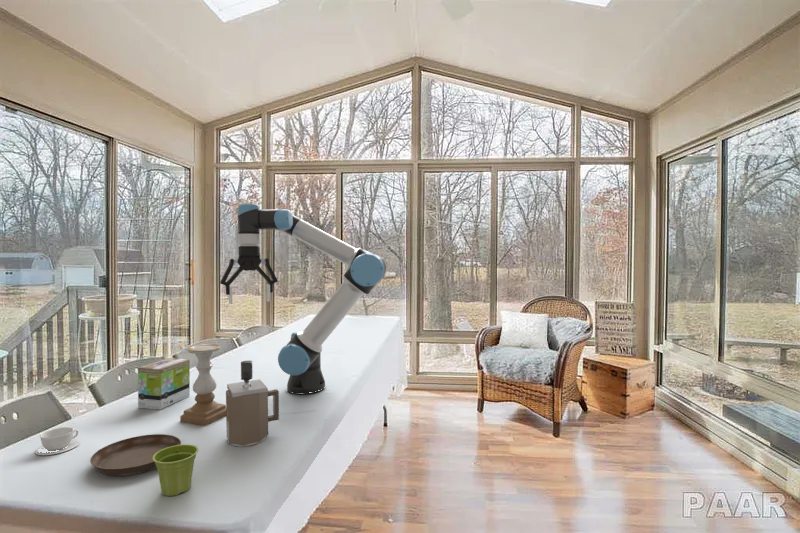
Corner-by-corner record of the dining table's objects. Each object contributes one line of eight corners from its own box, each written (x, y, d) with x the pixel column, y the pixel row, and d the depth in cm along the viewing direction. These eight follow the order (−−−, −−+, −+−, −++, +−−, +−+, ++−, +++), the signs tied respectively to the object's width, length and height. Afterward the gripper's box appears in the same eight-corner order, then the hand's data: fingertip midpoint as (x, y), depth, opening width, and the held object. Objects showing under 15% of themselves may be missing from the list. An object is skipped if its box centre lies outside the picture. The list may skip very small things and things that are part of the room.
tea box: (161, 410, 151) (161, 368, 150) (137, 408, 153) (136, 367, 152) (190, 396, 166) (190, 358, 165) (168, 394, 168) (167, 357, 167)
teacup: (44, 460, 115) (43, 443, 115) (28, 451, 120) (28, 435, 120) (86, 445, 124) (86, 429, 124) (70, 438, 129) (69, 422, 129)
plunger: (259, 426, 134) (258, 356, 133) (265, 436, 127) (264, 363, 126) (229, 432, 130) (228, 360, 129) (235, 443, 122) (233, 367, 121)
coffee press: (273, 425, 138) (273, 376, 137) (283, 438, 128) (282, 386, 127) (224, 435, 130) (223, 383, 130) (231, 450, 121) (230, 394, 120)
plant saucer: (146, 439, 128) (146, 428, 128) (198, 451, 120) (198, 439, 120) (71, 472, 109) (71, 459, 109) (127, 489, 101) (126, 475, 101)
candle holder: (229, 413, 148) (228, 344, 147) (205, 425, 137) (204, 352, 136) (204, 409, 151) (203, 342, 150) (179, 421, 141) (177, 349, 140)
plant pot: (164, 479, 105) (164, 444, 105) (204, 477, 106) (204, 443, 106) (145, 501, 96) (144, 463, 95) (189, 499, 97) (188, 461, 96)
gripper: (280, 245, 169) (280, 299, 170) (211, 245, 156) (212, 303, 157) (285, 245, 163) (285, 301, 163) (214, 245, 150) (215, 305, 151)
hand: (249, 302), depth 160 cm, fingers open, 13 cm apart
